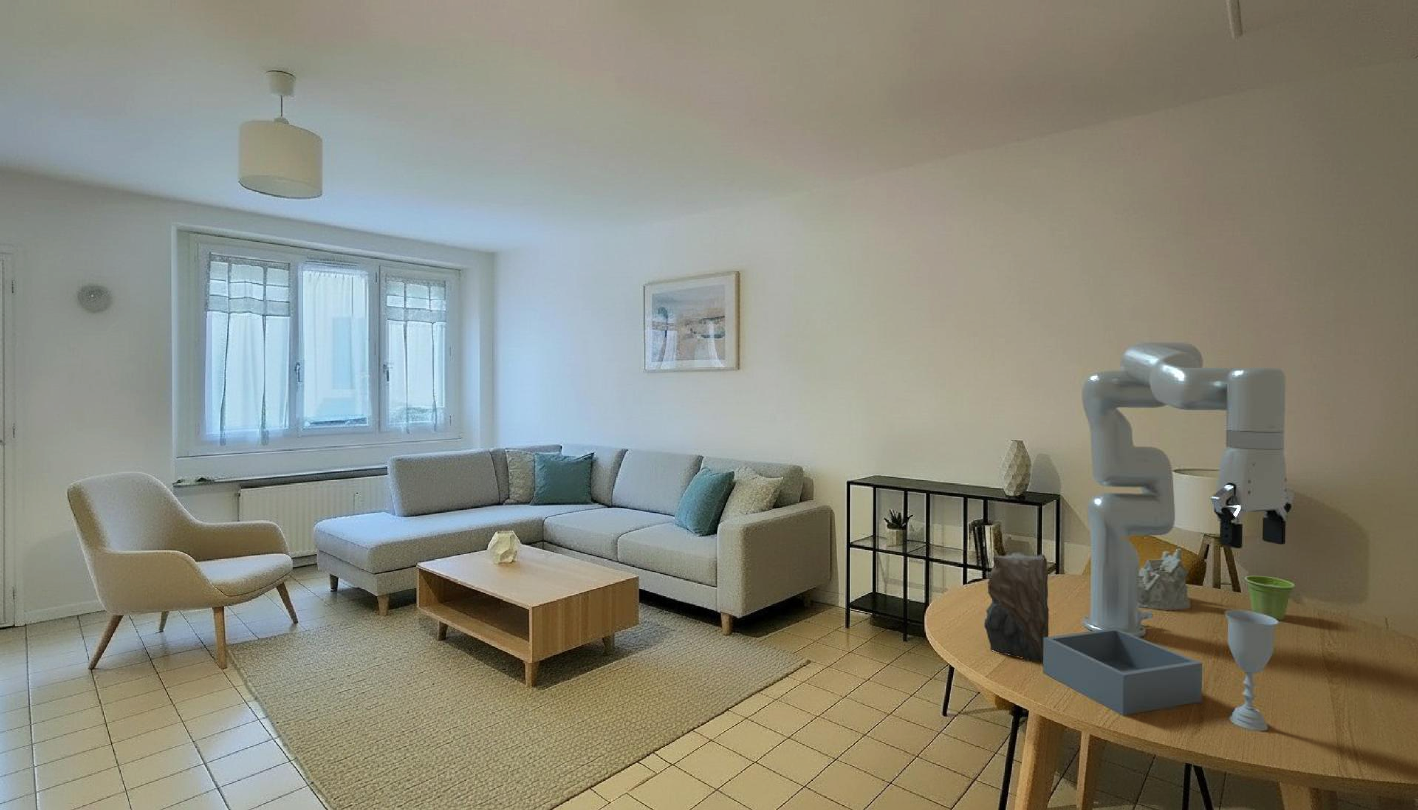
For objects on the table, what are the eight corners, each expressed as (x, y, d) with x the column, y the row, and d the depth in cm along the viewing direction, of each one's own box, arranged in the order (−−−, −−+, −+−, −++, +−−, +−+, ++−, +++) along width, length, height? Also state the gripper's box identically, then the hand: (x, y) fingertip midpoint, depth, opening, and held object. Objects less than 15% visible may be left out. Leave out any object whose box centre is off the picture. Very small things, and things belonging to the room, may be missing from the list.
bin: (1114, 661, 138) (1115, 628, 138) (1201, 701, 121) (1202, 662, 120) (1043, 672, 133) (1043, 637, 133) (1122, 715, 115) (1123, 675, 115)
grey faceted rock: (982, 650, 144) (983, 557, 143) (996, 632, 154) (997, 546, 154) (1048, 664, 137) (1049, 567, 136) (1057, 645, 147) (1058, 554, 146)
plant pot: (1299, 617, 164) (1300, 582, 164) (1286, 625, 159) (1287, 589, 159) (1252, 607, 172) (1252, 573, 172) (1238, 614, 167) (1238, 579, 166)
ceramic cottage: (1172, 592, 184) (1170, 538, 183) (1201, 614, 168) (1199, 555, 167) (1109, 592, 187) (1106, 539, 187) (1132, 613, 172) (1130, 555, 171)
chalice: (1211, 713, 116) (1213, 610, 116) (1247, 711, 117) (1250, 609, 116) (1248, 735, 109) (1251, 625, 108) (1287, 733, 110) (1290, 624, 109)
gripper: (1267, 439, 118) (1265, 536, 118) (1193, 441, 113) (1191, 543, 113) (1317, 442, 110) (1314, 546, 111) (1239, 445, 106) (1237, 553, 106)
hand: (1252, 544), depth 112 cm, fingers open, 9 cm apart
